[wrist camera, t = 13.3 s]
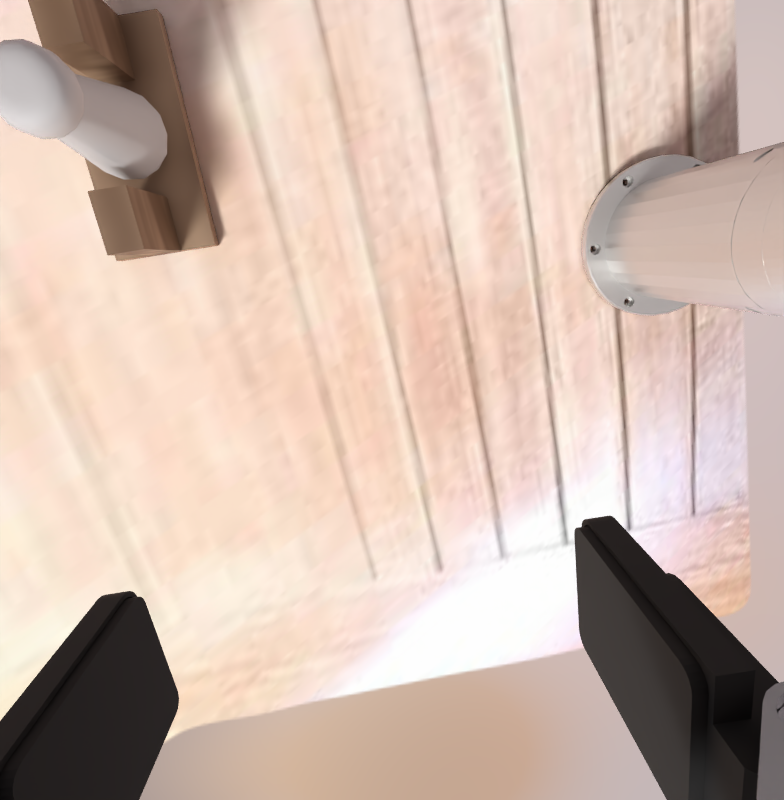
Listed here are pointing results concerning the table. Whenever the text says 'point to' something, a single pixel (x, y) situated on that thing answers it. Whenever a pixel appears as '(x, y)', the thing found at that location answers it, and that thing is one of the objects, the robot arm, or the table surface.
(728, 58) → the table surface
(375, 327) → the table surface
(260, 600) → the table surface
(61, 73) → the salt shaker
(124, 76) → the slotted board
